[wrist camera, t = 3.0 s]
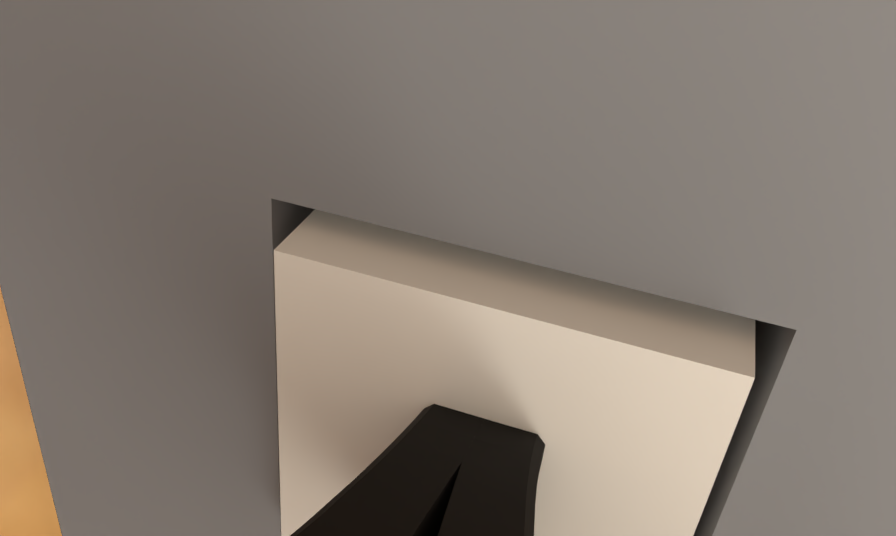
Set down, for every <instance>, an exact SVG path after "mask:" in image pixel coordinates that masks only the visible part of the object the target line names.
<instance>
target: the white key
mask: <svg viewBox="0 0 896 536" xmlns="http://www.w3.org/2000/svg"><path fill="white" fill-rule="evenodd" d="M274 277H275V315H276V353H277V391H278V430H279V468H280V506H281V536H290V535H291V534H293V533H294V532H295V531H296V530H297V529H299V528H300V527H301V526H302V525H303V524H304V523H306V522H307V521H308V520H309V519H310V518H311V517H313V516H314V515H315V514H316V513H317V512H318V511H319V510H320V509H322V508H323V507H324V506H325V505H326V504H327V503H328V502H329V501H330V500H332V499H333V498H334V497H335V496H336V495H337V494H338V493H339V492H341V491H342V490H343V489H344V488H345V487H346V486H347V485H348V484H350V483H351V482H352V481H353V480H354V479H355V478H356V477H357V476H358V475H359V474H360V473H361V472H362V471H363V470H365V469H366V468H367V467H368V466H369V465H370V464H371V463H372V462H373V461H374V460H375V459H376V458H377V457H378V456H379V455H380V454H381V453H382V452H383V451H384V450H385V449H386V448H387V447H388V446H389V445H390V444H391V443H392V442H393V441H394V440H395V439H396V438H397V437H398V436H399V435H400V434H401V433H402V432H403V431H404V430H405V429H406V428H407V427H408V426H409V424H410V423H411V422H412V421H413V420H414V419H415V418H416V417H417V416H418V415H419V414H420V412H421V411H422V410H423V409H424V408H426V407H428V406H430V405H432V404H437V405H440V406H444V407H447V408H450V409H454V410H457V411H461V412H464V413H467V414H471V415H474V416H477V417H481V418H484V419H488V420H491V421H494V422H498V423H501V424H505V425H508V426H512V427H515V428H518V429H522V430H525V431H529V432H532V433H536V434H538V435H539V437H540V438H541V439H542V441H543V442H544V444H545V449H544V454H543V458H542V463H541V467H540V472H539V476H538V482H537V491H536V502H535V522H534V536H693V535H694V533H695V530H696V528H697V525H698V523H699V520H700V517H701V515H702V512H703V510H704V507H705V505H706V502H707V500H708V497H709V494H710V492H711V489H712V487H713V484H714V482H715V479H716V477H717V474H718V471H719V469H720V466H721V464H722V461H723V459H724V456H725V453H726V451H727V448H728V446H729V443H730V441H731V438H732V436H733V433H734V430H735V428H736V425H737V423H738V420H739V418H740V415H741V413H742V410H743V407H744V405H745V402H746V400H747V397H748V395H749V392H750V390H751V387H752V384H753V382H754V379H755V319H751V318H747V317H743V316H739V315H735V314H731V313H727V312H723V311H719V310H715V309H711V308H707V307H703V306H699V305H695V304H691V303H687V302H683V301H679V300H675V299H671V298H667V297H663V296H659V295H655V294H651V293H647V292H643V291H639V290H635V289H631V288H627V287H623V286H619V285H615V284H611V283H607V282H603V281H599V280H595V279H591V278H587V277H583V276H579V275H575V274H571V273H567V272H563V271H559V270H555V269H551V268H547V267H543V266H539V265H535V264H531V263H527V262H523V261H519V260H515V259H511V258H507V257H503V256H499V255H495V254H491V253H487V252H483V251H479V250H475V249H471V248H467V247H463V246H459V245H455V244H451V243H447V242H443V241H439V240H435V239H431V238H427V237H423V236H420V235H416V234H412V233H408V232H404V231H400V230H396V229H392V228H388V227H384V226H380V225H376V224H372V223H368V222H364V221H360V220H356V219H352V218H348V217H344V216H340V215H336V214H332V213H328V212H324V211H320V210H316V209H315V210H314V211H313V212H312V213H311V214H310V215H309V216H308V217H307V218H306V219H305V220H304V221H303V222H302V223H301V224H300V225H299V226H298V227H297V228H296V229H295V230H294V231H293V232H292V233H291V234H290V235H289V236H288V237H287V238H286V239H285V240H284V241H283V242H282V243H281V244H280V245H279V246H278V247H277V248H276V249H274Z"/></svg>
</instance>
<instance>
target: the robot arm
mask: <svg viewBox="0 0 896 536" xmlns="http://www.w3.org/2000/svg"><path fill="white" fill-rule="evenodd" d="M544 449H545V444H544V442H543V441H542V439H541V438H540V437H539V435H538V434H536V433H532V432H529V431H525V430H522V429H518V428H515V427H512V426H508V425H505V424H501V423H498V422H494V421H491V420H488V419H484V418H481V417H477V416H474V415H471V414H467V413H464V412H461V411H457V410H454V409H450V408H447V407H444V406H440V405H437V404H432V405H430V406H428V407H426V408H424V409H423V410H422V411H421V412H420V414H419V415H418V416H417V417H416V418H415V419H414V420H413V421H412V422H411V423H410V424H409V426H408V427H407V428H406V429H405V430H404V431H403V432H402V433H401V434H400V435H399V436H398V437H397V438H396V439H395V440H394V441H393V442H392V443H391V444H390V445H389V446H388V447H387V448H386V449H385V450H384V451H383V452H382V453H381V454H380V455H379V456H378V457H377V458H376V459H375V460H374V461H373V462H372V463H371V464H370V465H369V466H368V467H367V468H366V469H365V470H363V471H362V472H361V473H360V474H359V475H358V476H357V477H356V478H355V479H354V480H353V481H352V482H351V483H350V484H348V485H347V486H346V487H345V488H344V489H343V490H342V491H341V492H339V493H338V494H337V495H336V496H335V497H334V498H333V499H332V500H330V501H329V502H328V503H327V504H326V505H325V506H324V507H323V508H322V509H320V510H319V511H318V512H317V513H316V514H315V515H314V516H313V517H311V518H310V519H309V520H308V521H307V522H306V523H304V524H303V525H302V526H301V527H300V528H299V529H297V530H296V531H295V532H294V533H293V534H291V535H290V536H534V522H535V502H536V491H537V482H538V476H539V472H540V467H541V463H542V458H543V454H544Z"/></svg>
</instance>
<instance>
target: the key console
mask: <svg viewBox="0 0 896 536" xmlns="http://www.w3.org/2000/svg"><path fill="white" fill-rule="evenodd" d="M315 209H316V210H320V211H324V212H328V213H332V214H336V215H340V216H344V217H348V218H352V219H356V220H360V221H364V222H368V223H372V224H376V225H380V226H384V227H388V228H392V229H396V230H400V231H404V232H408V233H412V234H416V235H420V236H423V237H427V238H431V239H435V240H439V241H443V242H447V243H451V244H455V245H459V246H463V247H467V248H471V249H475V250H479V251H483V252H487V253H491V254H495V255H499V256H503V257H507V258H511V259H515V260H519V261H523V262H527V263H531V264H535V265H539V266H543V267H547V268H551V269H555V270H559V271H563V272H567V273H571V274H575V275H579V276H583V277H587V278H591V279H595V280H599V281H603V282H607V283H611V284H615V285H619V286H623V287H627V288H631V289H635V290H639V291H643V292H647V293H651V294H655V295H659V296H663V297H667V298H671V299H675V300H679V301H683V302H687V303H691V304H695V305H699V306H703V307H707V308H711V309H715V310H719V311H723V312H727V313H731V314H735V315H739V316H743V317H747V318H751V319H755V379H754V382H753V384H752V387H751V390H750V392H749V395H748V397H747V400H746V402H745V405H744V407H743V410H742V413H741V415H740V418H739V420H738V423H737V425H736V428H735V430H734V433H733V436H732V438H731V441H730V443H729V446H728V448H727V451H726V453H725V456H724V459H723V461H722V464H721V466H720V469H719V471H718V474H717V477H716V479H715V482H714V484H713V487H712V489H711V492H710V494H709V497H708V500H707V502H706V505H705V507H704V510H703V512H702V515H701V517H700V520H699V523H698V525H697V528H696V530H695V533H694V535H693V536H896V0H0V287H1V291H2V295H3V299H4V303H5V307H6V311H7V315H8V319H9V323H10V327H11V331H12V335H13V339H14V343H15V347H16V351H17V355H18V359H19V363H20V367H21V371H22V375H23V380H24V384H25V388H26V392H27V396H28V400H29V404H30V408H31V412H32V416H33V420H34V424H35V428H36V432H37V436H38V440H39V444H40V448H41V452H42V456H43V460H44V464H45V468H46V472H47V476H48V480H49V484H50V488H51V492H52V496H53V501H54V505H55V509H56V513H57V517H58V521H59V525H60V529H61V533H62V536H281V506H280V468H279V430H278V391H277V353H276V315H275V277H274V249H276V248H277V247H278V246H279V245H280V244H281V243H282V242H283V241H284V240H285V239H286V238H287V237H288V236H289V235H290V234H291V233H292V232H293V231H294V230H295V229H296V228H297V227H298V226H299V225H300V224H301V223H302V222H303V221H304V220H305V219H306V218H307V217H308V216H309V215H310V214H311V213H312V212H313V211H314V210H315Z"/></svg>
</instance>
